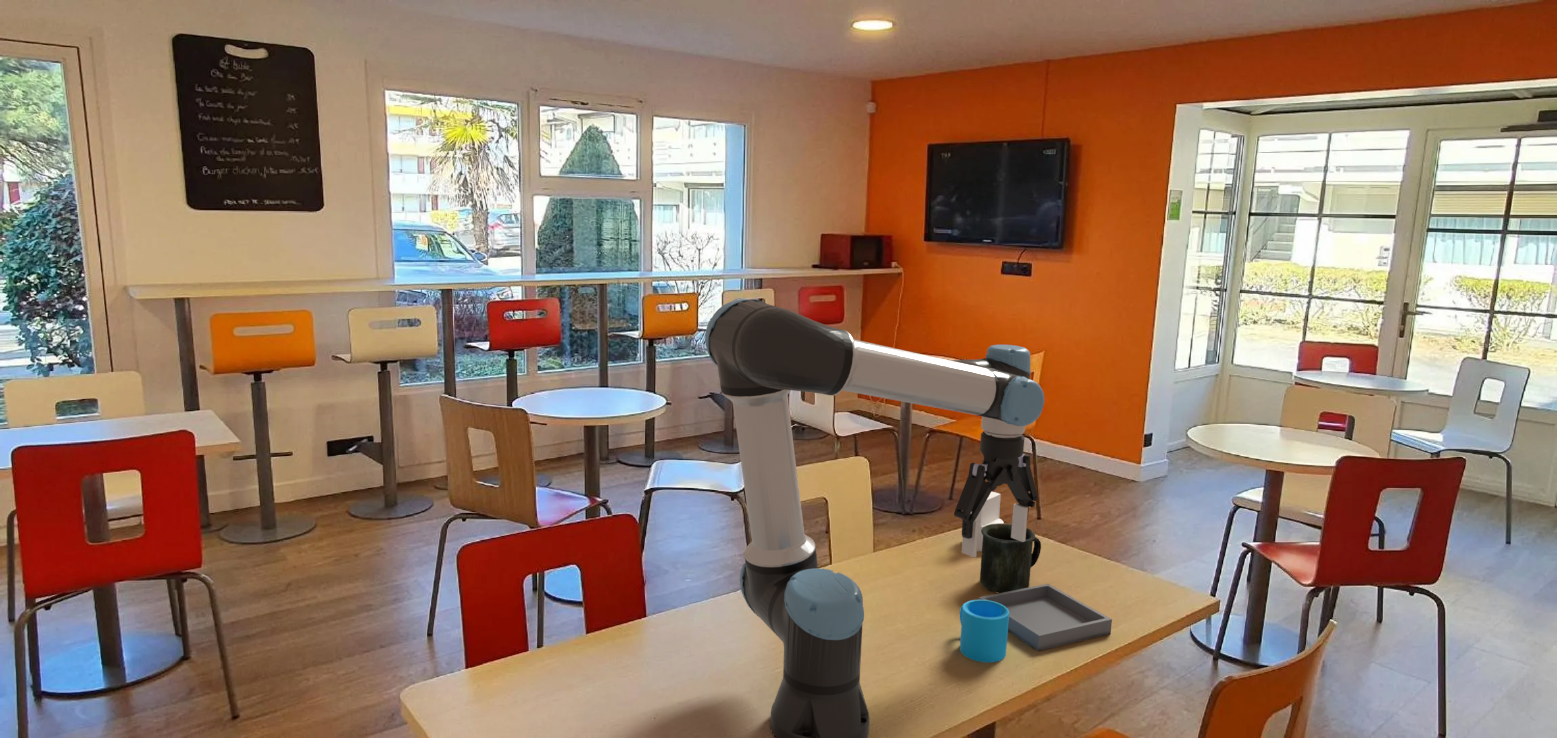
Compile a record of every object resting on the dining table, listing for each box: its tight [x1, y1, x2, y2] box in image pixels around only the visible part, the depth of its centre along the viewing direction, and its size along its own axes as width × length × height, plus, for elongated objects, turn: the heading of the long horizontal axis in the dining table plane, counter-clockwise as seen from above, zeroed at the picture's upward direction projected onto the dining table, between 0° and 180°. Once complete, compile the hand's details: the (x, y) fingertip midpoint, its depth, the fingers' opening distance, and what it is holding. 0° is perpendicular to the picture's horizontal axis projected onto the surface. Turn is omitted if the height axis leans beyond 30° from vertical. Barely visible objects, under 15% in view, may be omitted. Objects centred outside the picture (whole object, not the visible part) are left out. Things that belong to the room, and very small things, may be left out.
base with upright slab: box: [971, 491, 1005, 553], centre depth 217 cm, size 9×9×12 cm
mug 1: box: [959, 599, 1009, 663], centre depth 167 cm, size 12×8×8 cm
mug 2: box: [979, 523, 1042, 594], centre depth 195 cm, size 11×15×12 cm
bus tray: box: [978, 583, 1113, 652], centre depth 178 cm, size 18×18×3 cm
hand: (994, 546), depth 166 cm, fingers open, 13 cm apart
